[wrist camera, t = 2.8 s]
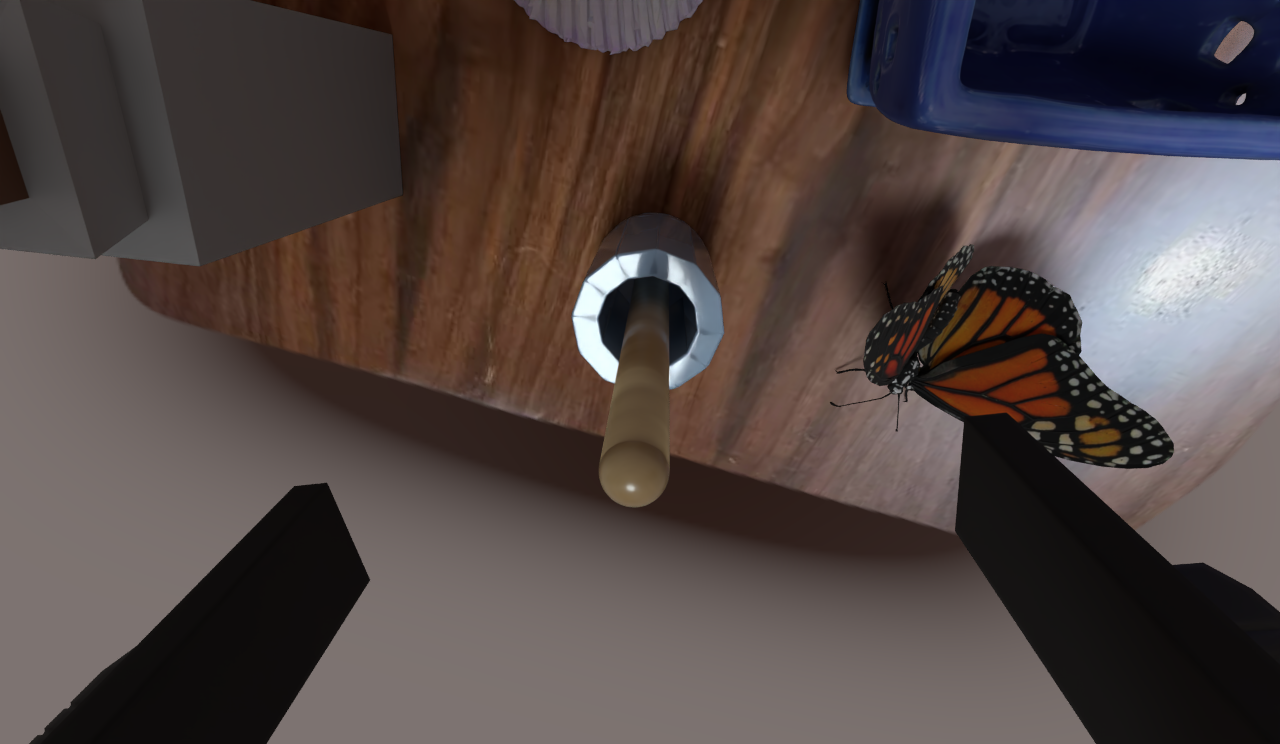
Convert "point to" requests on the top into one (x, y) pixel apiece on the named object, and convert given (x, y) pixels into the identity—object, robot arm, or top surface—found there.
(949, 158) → the top surface
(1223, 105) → the flower pot
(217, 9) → the perfume bottle
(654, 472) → the stick
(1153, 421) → the butterfly
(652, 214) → the holder
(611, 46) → the seashell
